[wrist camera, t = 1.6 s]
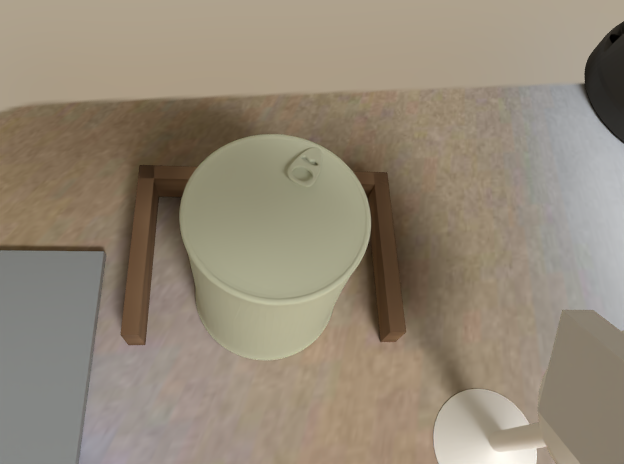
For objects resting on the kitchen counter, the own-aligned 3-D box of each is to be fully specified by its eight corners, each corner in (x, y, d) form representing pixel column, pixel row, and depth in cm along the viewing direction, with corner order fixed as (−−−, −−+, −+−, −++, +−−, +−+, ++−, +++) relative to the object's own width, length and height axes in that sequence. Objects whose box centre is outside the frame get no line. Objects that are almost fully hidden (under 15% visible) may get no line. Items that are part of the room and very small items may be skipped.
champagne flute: (460, 367, 35) (818, 179, 13) (552, 427, 34) (1095, 328, 12) (414, 461, 32) (774, 414, 11) (513, 529, 31) (1130, 629, 10)
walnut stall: (378, 190, 40) (387, 172, 38) (395, 341, 35) (406, 331, 33) (145, 184, 38) (139, 165, 35) (128, 345, 33) (120, 334, 31)
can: (356, 266, 37) (404, 177, 26) (295, 387, 33) (323, 340, 22) (240, 207, 38) (241, 97, 27) (167, 318, 34) (134, 240, 23)
